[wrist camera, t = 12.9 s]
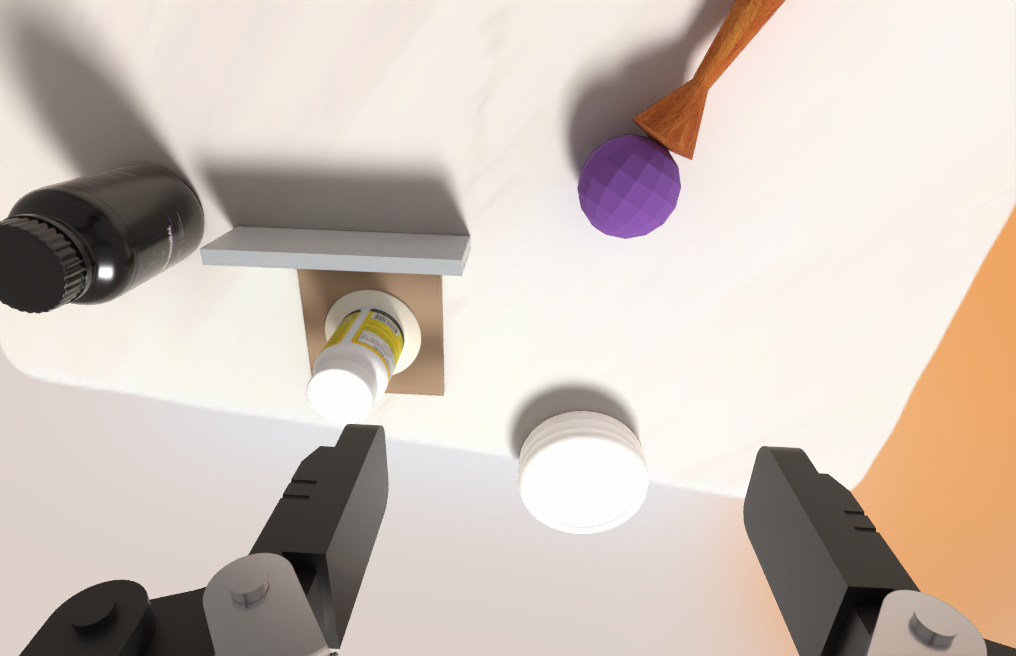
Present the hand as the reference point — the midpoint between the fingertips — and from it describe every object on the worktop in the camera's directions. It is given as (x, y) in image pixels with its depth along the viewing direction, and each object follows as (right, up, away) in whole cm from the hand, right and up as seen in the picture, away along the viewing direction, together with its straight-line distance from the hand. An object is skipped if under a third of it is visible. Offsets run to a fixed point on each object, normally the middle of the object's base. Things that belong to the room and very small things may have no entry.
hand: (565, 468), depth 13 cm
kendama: (+10, +18, +22) cm, 31 cm away
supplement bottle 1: (-25, +11, +27) cm, 39 cm away
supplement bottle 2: (-11, +3, +30) cm, 32 cm away
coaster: (+5, -8, +35) cm, 36 cm away
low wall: (-12, +9, +27) cm, 31 cm away
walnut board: (-11, +3, +30) cm, 32 cm away
